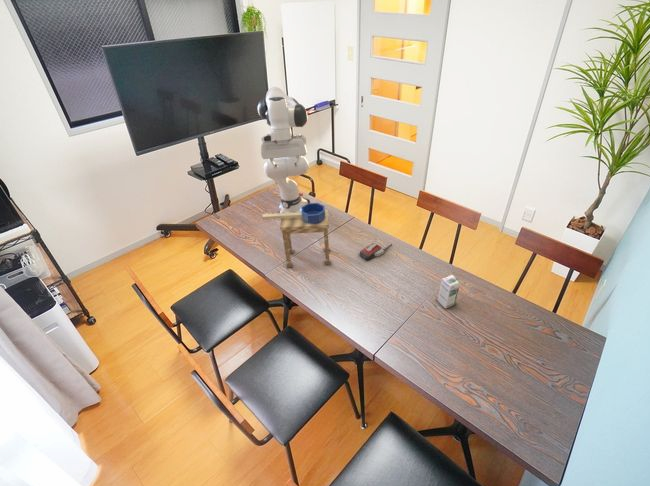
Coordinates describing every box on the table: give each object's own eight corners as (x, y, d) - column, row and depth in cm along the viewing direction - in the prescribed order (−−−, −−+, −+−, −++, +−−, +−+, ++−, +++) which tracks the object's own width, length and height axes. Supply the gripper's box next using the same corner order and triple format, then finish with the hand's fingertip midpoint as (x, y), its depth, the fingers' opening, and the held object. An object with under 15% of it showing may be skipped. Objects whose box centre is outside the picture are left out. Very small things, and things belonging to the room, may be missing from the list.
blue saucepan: (324, 210, 167) (324, 202, 164) (325, 223, 158) (325, 214, 155) (264, 214, 165) (263, 205, 162) (262, 226, 156) (260, 218, 153)
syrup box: (445, 309, 149) (451, 286, 140) (436, 300, 153) (441, 277, 144) (454, 304, 151) (461, 282, 142) (446, 296, 155) (452, 273, 146)
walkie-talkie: (369, 263, 173) (393, 247, 184) (369, 257, 171) (393, 241, 182) (357, 256, 178) (381, 240, 190) (357, 249, 176) (382, 234, 187)
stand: (286, 268, 171) (279, 227, 155) (288, 251, 182) (282, 211, 166) (330, 265, 172) (328, 224, 157) (329, 248, 184) (327, 209, 168)
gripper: (305, 133, 149) (309, 164, 154) (260, 137, 148) (265, 168, 152) (304, 134, 143) (308, 166, 148) (257, 138, 142) (262, 170, 147)
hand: (286, 167), depth 150 cm, fingers open, 8 cm apart
